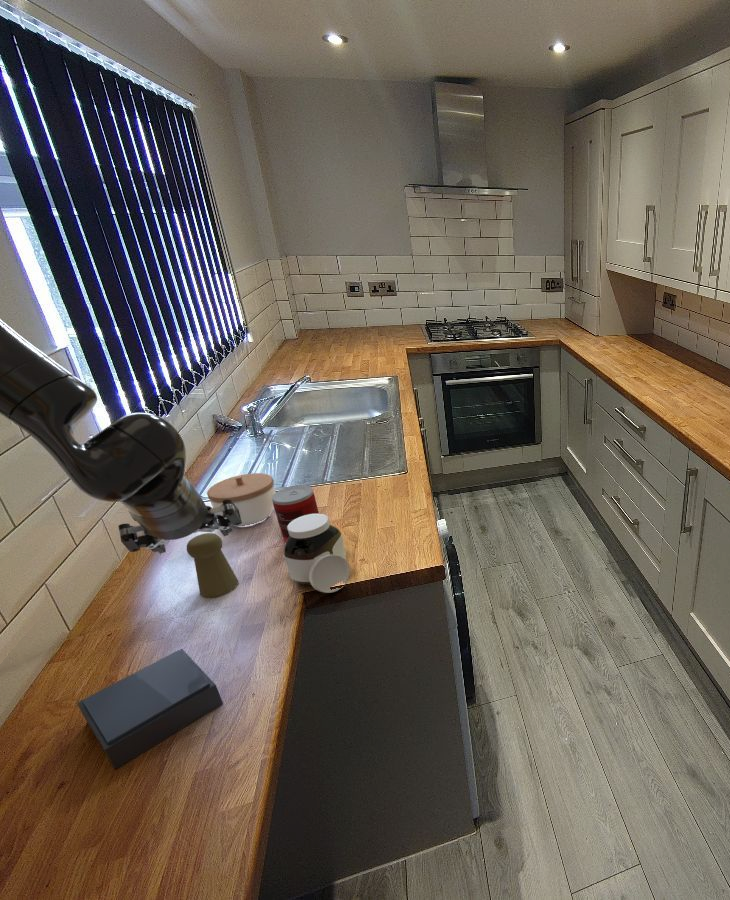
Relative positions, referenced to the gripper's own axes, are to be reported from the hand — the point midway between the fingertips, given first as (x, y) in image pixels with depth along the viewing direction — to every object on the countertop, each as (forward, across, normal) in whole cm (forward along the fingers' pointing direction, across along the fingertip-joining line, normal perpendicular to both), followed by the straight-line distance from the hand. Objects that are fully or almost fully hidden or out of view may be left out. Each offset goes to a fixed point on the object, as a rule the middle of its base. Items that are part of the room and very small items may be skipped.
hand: (194, 538), depth 86 cm
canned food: (+23, -16, -2) cm, 28 cm away
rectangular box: (-4, +8, +25) cm, 26 cm away
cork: (+16, 0, +5) cm, 17 cm away
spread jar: (+10, -17, +11) cm, 23 cm away
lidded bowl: (+35, -6, -13) cm, 38 cm away
